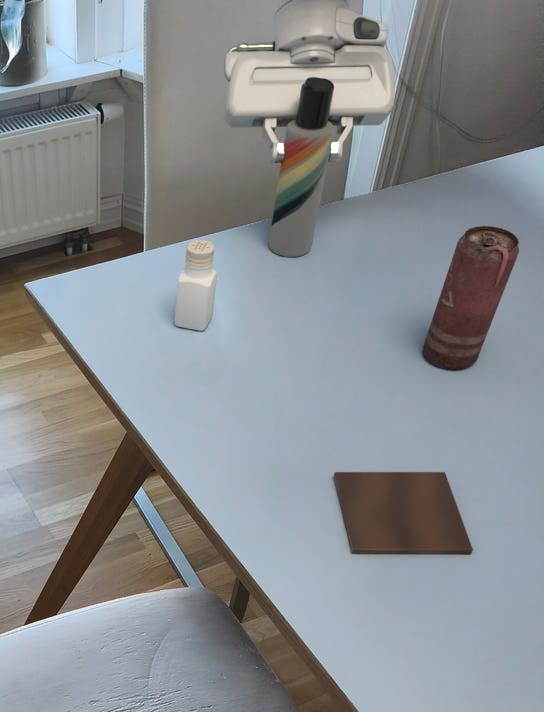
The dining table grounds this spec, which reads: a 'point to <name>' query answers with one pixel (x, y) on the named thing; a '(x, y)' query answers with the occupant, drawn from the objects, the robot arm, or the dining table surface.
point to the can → (470, 296)
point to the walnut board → (401, 513)
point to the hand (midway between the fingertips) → (306, 160)
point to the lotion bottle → (303, 170)
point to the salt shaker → (196, 287)
